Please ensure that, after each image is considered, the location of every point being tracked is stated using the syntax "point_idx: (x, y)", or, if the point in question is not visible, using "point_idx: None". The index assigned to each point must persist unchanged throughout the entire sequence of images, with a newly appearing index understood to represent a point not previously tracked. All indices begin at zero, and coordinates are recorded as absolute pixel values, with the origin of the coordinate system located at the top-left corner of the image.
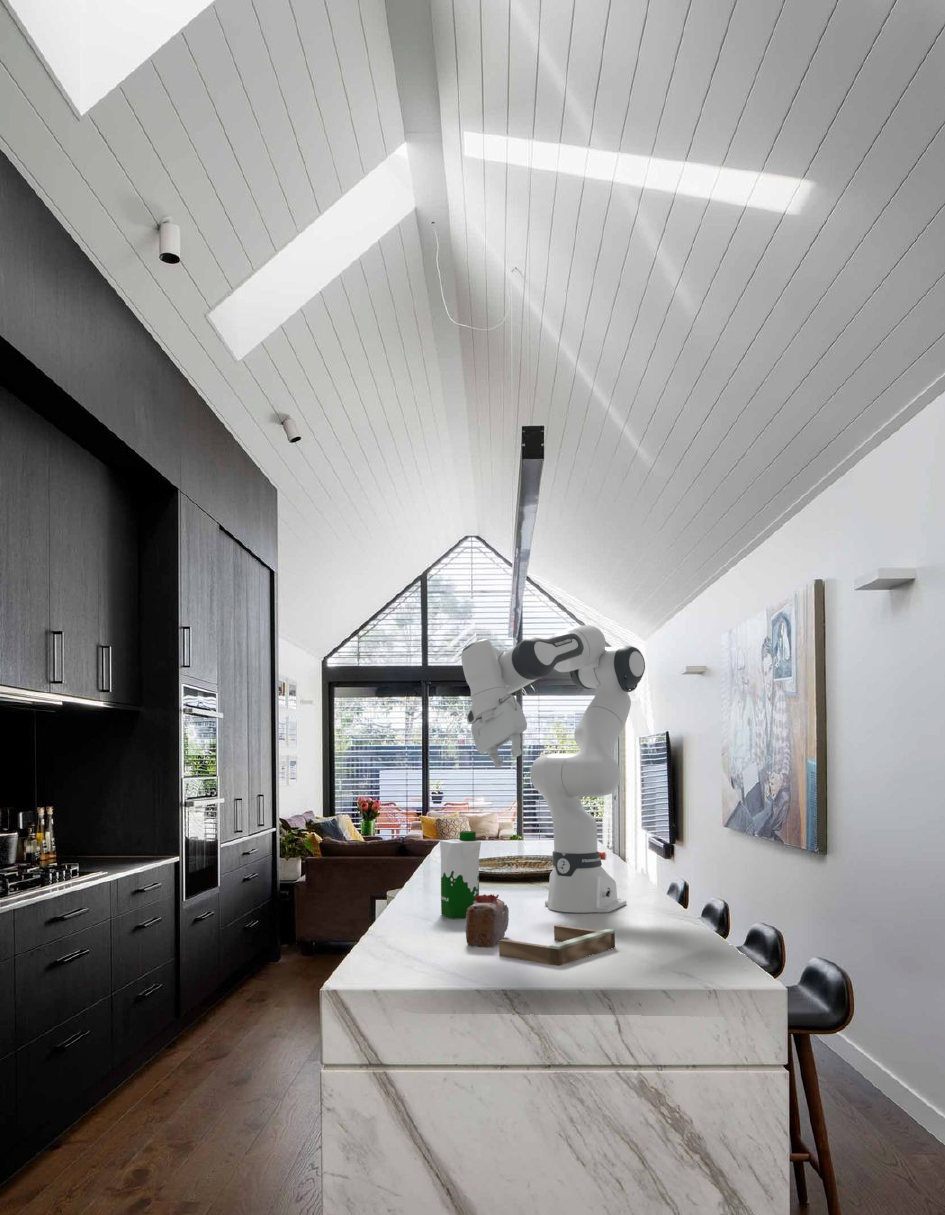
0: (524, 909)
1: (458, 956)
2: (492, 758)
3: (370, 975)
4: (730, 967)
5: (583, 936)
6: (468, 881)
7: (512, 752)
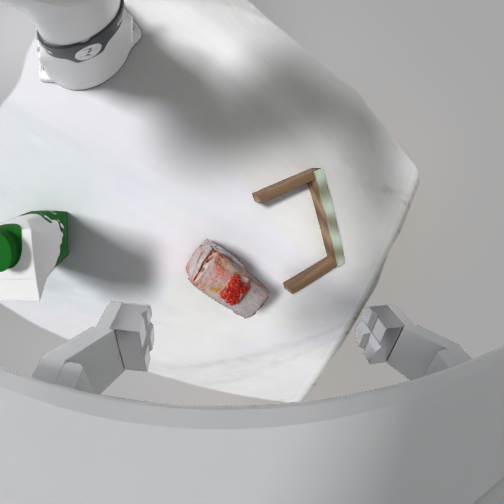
0: (46, 120)
1: (266, 321)
2: (107, 381)
3: (283, 386)
4: (388, 147)
5: (329, 217)
6: (59, 244)
7: (369, 350)
